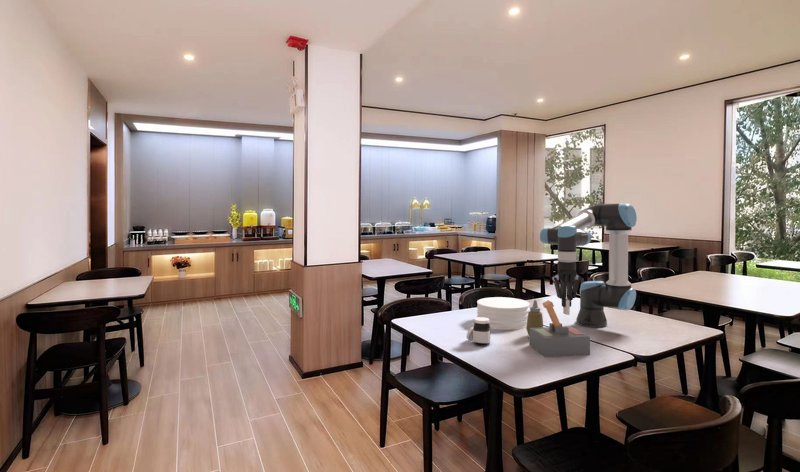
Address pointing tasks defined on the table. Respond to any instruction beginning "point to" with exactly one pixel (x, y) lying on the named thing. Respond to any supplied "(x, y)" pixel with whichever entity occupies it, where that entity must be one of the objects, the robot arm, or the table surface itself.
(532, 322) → the squeeze bottle
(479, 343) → the spread jar
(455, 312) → the table surface
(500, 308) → the plate stack
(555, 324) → the breaker lever
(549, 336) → the switch block
